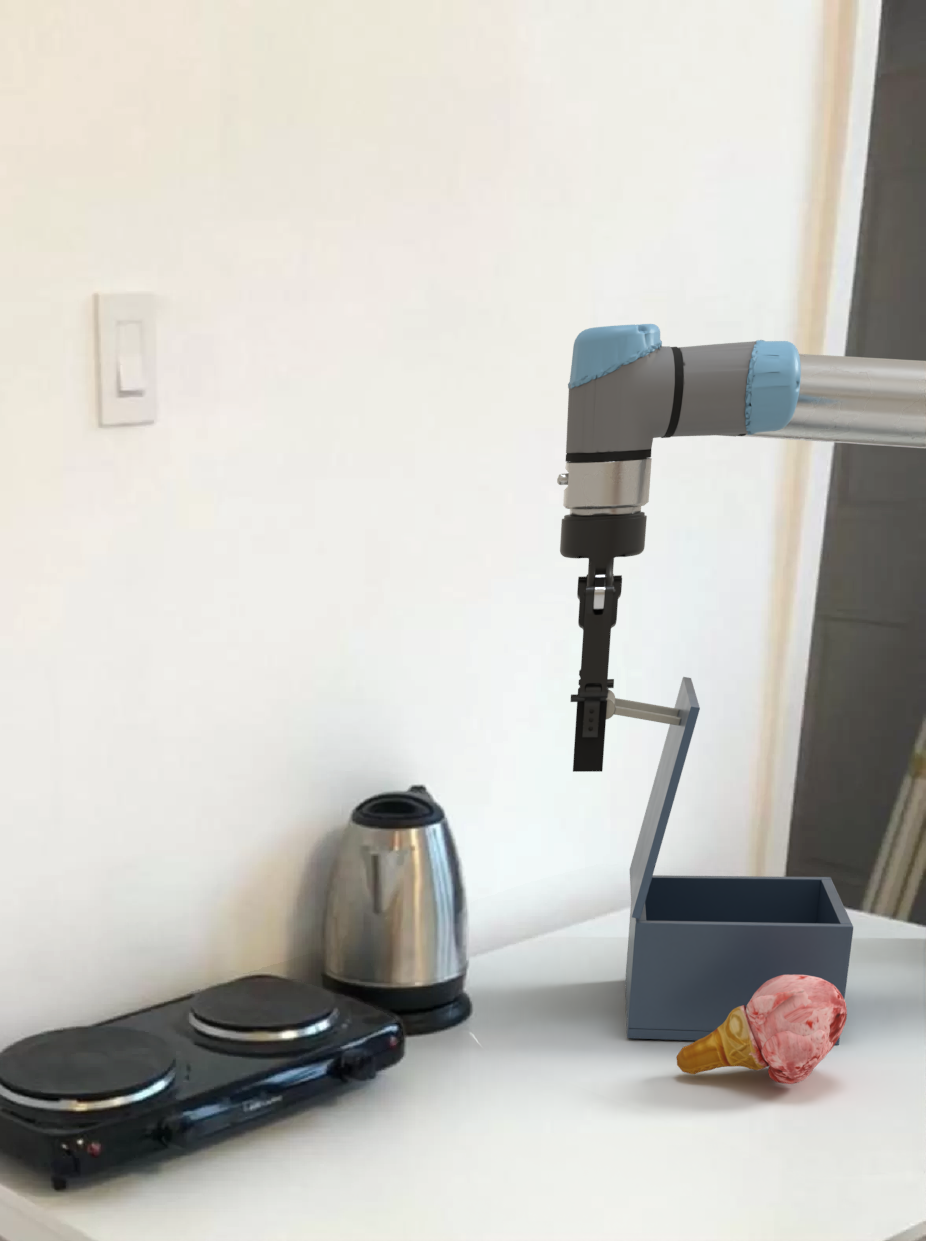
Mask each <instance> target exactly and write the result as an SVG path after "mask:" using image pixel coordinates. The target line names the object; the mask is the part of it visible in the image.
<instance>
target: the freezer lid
mask: <svg viewBox="0 0 926 1241" xmlns="http://www.w3.org/2000/svg"><path fill="white" fill-rule="evenodd" d="M606 700H607V711H606V721H607V720H609V719H611V718H612V717H613V716H614V715H616V716H622V717H627V718H632V719H636V720H637V719H639V720H644V721H649V722H654V723H659V724H660V723H661V724H667V725H669V726H668V730H667V733H666V736H665V740H664V743H663V747H662V751H661V755H660V758H659V761H658V762H659V763H658V766H657V769H656V772H655V776H654V780H653V784H652V786H651V791H650V795H649V798H648V802H647V805H646V809H645V812H644V817H643V820H642V823H641V827H640V830H639V834H638V837H637V841H636V845H635V848H634V852H633V855H632V859H631V863H630V866H629V886H630V887H629V888H630V909H631V911H632V917H633V918H638V919H640V918H641V915H642V911H643V907H644V904H645V900H646V897H647V893H648V890H649V886H650V883H651V879H652V876H653V875H654V872H655V870H656V869H655V868H656V865H657V861H658V858H659V854H660V851H661V847H662V844H663V840H664V836H665V834H666V829H667V826H668V823H669V819H670V815H671V812H672V808H673V805H674V801H675V798H676V795H677V791H678V788H679V784H680V781H681V777H682V773H683V769H684V766H685V763H686V759H687V756H688V752H689V748H690V745H691V742H692V738H693V734H694V731H695V728H696V724H697V720H698V717H699V713H700V710H701V707H700V703H699V701H698V697H697V693H696V690H695V686H694V684H693V680H692V677H687V676H683V677H682V679H681V682H680V686H679V689H678V693H677V697H676V700H675V704H674V706H673V707H669V706H664V705H658V704H651V703H646V702H641V701H634V700H629V699H624V698H618V697H616V695H615V693H614V692H613V691H612V690H610V689H609V690H608V698H607V699H606Z"/></svg>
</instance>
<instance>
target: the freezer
mask: <svg viewBox="0 0 926 1241" xmlns="http://www.w3.org/2000/svg"><path fill="white" fill-rule="evenodd" d="M837 890H838V889H837V888H836V886H835V884H834V882H833V880H832V877H831V876H769V875H768V876H767V875H766V876H763V875H762V876H760V875H759V876H758V875H756V876H753V875H749V876H748V875H739V876H738V875H665V874H664V875H663V874H662V875H661V874H657V875H656V874H655V875H654V874H653V876H652V879H651V883H650V886H649V890H648V893H647V897H646V900H645V904H644V907H643V911H642V915H641V918H640V919H638V918H633V917H632V911H631V908H630V909H629V910H630V911H629V912H630V913H629V923H628V924H629V925H628V937H627V938H628V940H627V952H626V965H625V966H626V967H625V977H624V984H625V985H626V986H625V987H626V988H625V1016H626V1017H625V1018H626V1038H627V1039H640V1040H641V1039H643V1040H671V1041H672V1040H674V1041H697V1040H699V1039H701V1038H704V1037H706V1036H707V1035H709V1034H710V1033H712V1032H713V1031H714V1030H716V1029H717V1028H718V1027H719V1026H720V1025H722V1024H723V1023H724V1021H725V1020H726V1019H727V1017H728V1015H729V1013H730V1012H731V1011H732V1010H733V1009H735V1008H737V1007H739V1006H742V1005H745V1006H746V1008H747V1004H748V1003H749V1001H750V999H751V998H752V996H753V995H754V993H755V992H756V991H757V990H758V989H759V988H760V987H761V986H762V985H763V984H764V983H765V982H766V981H768V980H770V979H772V978H775V977H777V976H781V975H808V976H814V977H819V978H822V979H824V980H826V981H828V982H830V983H832V984H833V985H834V986H835V987H836V988H837V989H838V990H839V991H840V993H841V995H842V996H843V998H844V1000H845V999H846V993H847V992H846V990H847V984H848V976H849V975H848V974H849V968H850V967H849V966H850V958H851V951H852V950H851V949H852V943H853V942H852V941H853V935H854V925H853V923H852V920H851V919H850V917H849V915H848V914H849V913H848V912H847V910H846V907H845V906H844V904H843V902H842V899H841V896H840V895H839V892H838V891H837ZM845 1001H846V1000H845ZM840 1040H841V1035H840V1036H839V1038H838V1040H837V1042H836V1043H835V1045H834V1046H839V1045H840Z"/></svg>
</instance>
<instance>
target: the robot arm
mask: <svg viewBox="0 0 926 1241" xmlns="http://www.w3.org/2000/svg"><path fill="white" fill-rule="evenodd" d="M570 367H571V368H570V373H569V374H570V375H569V382H568V383H567V389H568V397H567V400H568V401H567V421H566V442H565V443H566V444H565V470H566V473H560V474H558V476H557V478H556V483H557V484H558V486H559V485H560V486H566V487H565V488H564V490H563V499H562V501H563V502H562V506H563V507H564V508H565V509H567V510H569V514H565V515H564V516H563V518H561V527H560V542H559V543H560V545H559V552H560V555H561V556H562V557H564V558H567V559H577V560H578V559H579V560H580V559H588V566H587V567H588V568H587V574H586V576H578V578H577V592H576V593H577V594H576V597H577V599H578V601H579V604H578V605H579V606H578V621H577V624H578V626H579V628H580V629H582V632H583V633H582V645H581V662H580V669H579V670H578V672H579V673H578V676H579V679H578V685H579V687H578V688H577V693H575V694H570V703H576V713H575V727H574V729H575V730H574V747H573V761H572V762H573V763H572V772H576V773H577V772H583V773H584V772H586V773H587V772H589V773H591V772H594V773H595V772H596V773H598V772H599V773H600V772H602V773H603V769H604V768H603V766H604V752H605V740H606V739H605V738H606V726H607V725H606V723H607V720H606V711H607V700H606V699H607V698H608V690H610V689H615V688H614V687H615V678H609V664H610V663H609V662H610V648H611V634H612V633H611V632H612V628H615V626H616V625H617V621H618V620H617V619H618V606H619V599H620V598H621V595H622V589H623V588H622V587H623V575H622V574H621V575H620V574H619V575H618V574H617V575H614V565H615V558H626V557H627V558H628V557H635V556H638V555H641V554H642V553H643V552H644V551H645V547H646V531H647V518H648V516H647V515H646V513H645V512H644V511H642V507H644V506H645V505H647V504H648V503H649V502H650V487H651V474H652V473H651V472H652V459H653V458H651V457H652V449H653V448H652V447H653V443H654V439H658V438H660V439H668V438H673V437H707V436H720V437H721V436H722V437H745V438H760V439H775V440H777V439H778V440H790V441H791V440H793V441H805V442H807V441H808V442H821V443H822V442H824V443H837V444H855V445H867V446H883V447H885V446H886V447H900V448H912V449H913V448H915V449H926V360H915V359H900V358H881V357H880V358H879V357H863V356H848V355H847V356H846V355H830V354H829V355H828V354H810V353H799V350H798V348H797V346H796V345H795V344H794V343H793V342H791V341H788V340H764V339H757V340H755V341H741V342H739V341H738V342H727V343H726V342H725V343H714V344H703V345H701V344H700V345H690V346H680V347H678V346H670V345H669V346H663V341H662V340H661V329H660V328H659V326H658V325H656V324H654V323H640V324H619V325H618V324H617V325H606V326H596V327H589V328H586V329H584V330H582V331H581V332H579V333H578V335H577V336H576V338H575V339H574V342H573V347H572V357H571V366H570Z"/></svg>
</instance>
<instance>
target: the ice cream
mask: <svg viewBox="0 0 926 1241" xmlns="http://www.w3.org/2000/svg"><path fill="white" fill-rule="evenodd" d="M847 1017H848V1010H847V1003H846V1000H844V998H843V996H842V995H841V993H840V991H839V990H838V989H837V988H836V987H835V986H834V985H833V984H832V983H830V982H828V981H826V980H824V979H822V978H819V977H814V976H808V975H781V976H777V977H775V978H772V979H770V980H768V981H766V982H765V983H764V984H763V985H762V986H761V987H760V988H759V989H758V990H757V991H756V992H755V993H754V995H753V996H752V998H751V999H750V1001H749V1003H748V1004H747V1008H746V1006H745V1005H742V1006H739V1007H737V1008H735V1009H733V1010H732V1011H731V1012H730V1013H729V1015H728V1017H727V1019H726V1020H725V1021H724V1023H723V1024H722V1025H720V1026H719V1027H718V1028H717V1029H716V1030H714V1031H713V1032H712V1033H710V1034H709V1035H707V1036H706V1037H704V1038H701V1039H699V1040H697V1041H696V1040H694V1042H692V1043H689V1044H688V1045H685V1046H683V1047H682V1048H681V1049H680V1050H679V1052H678V1053H677V1055H676V1066H677V1067H678V1068H679V1069H680V1070H681V1072H683V1073H686V1074H690V1075H696V1074H698V1073H702V1072H703V1073H704V1072H707V1071H712V1070H715V1069H719V1068H720V1069H721V1068H727V1067H729V1068H730V1067H732V1068H733V1067H735V1068H736V1067H742V1068H746V1069H749V1070H754V1071H761V1070H764V1069H765V1068H766V1069H767V1068H768V1070H767V1073H768V1077H769V1078H770V1079H771V1080H772V1081H774V1082H776V1083H779V1084H784V1085H785V1084H786V1085H792V1084H797V1083H800V1082H802V1081H805V1080H806V1079H807V1078H808V1077H809V1076H810V1075H811V1074H812V1072H813V1071H814V1069H815V1068H816V1067H817V1066H818V1065H819V1063H820V1062H822V1061H823V1060H824V1059H825V1058H826V1056H827V1055H828V1054H829V1053H830V1052H831V1051H832V1050H833V1048H834V1046H836V1045H835V1043H836V1042H837V1040H838V1038H839V1036H840V1037H841V1035H842V1033H843V1030H844V1028H845V1025H846V1021H847Z"/></svg>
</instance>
